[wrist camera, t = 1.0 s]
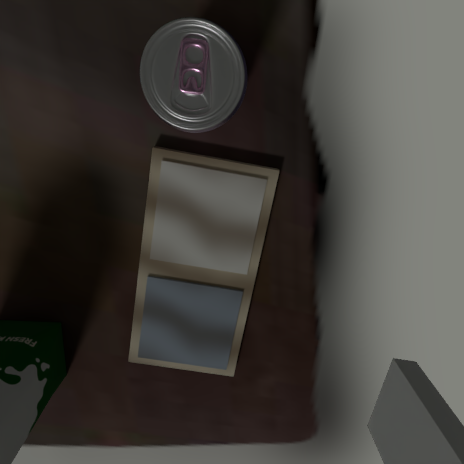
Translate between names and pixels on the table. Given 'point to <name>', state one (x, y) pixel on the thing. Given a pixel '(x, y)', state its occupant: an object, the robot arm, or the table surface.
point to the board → (199, 259)
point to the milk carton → (27, 378)
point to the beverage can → (193, 74)
